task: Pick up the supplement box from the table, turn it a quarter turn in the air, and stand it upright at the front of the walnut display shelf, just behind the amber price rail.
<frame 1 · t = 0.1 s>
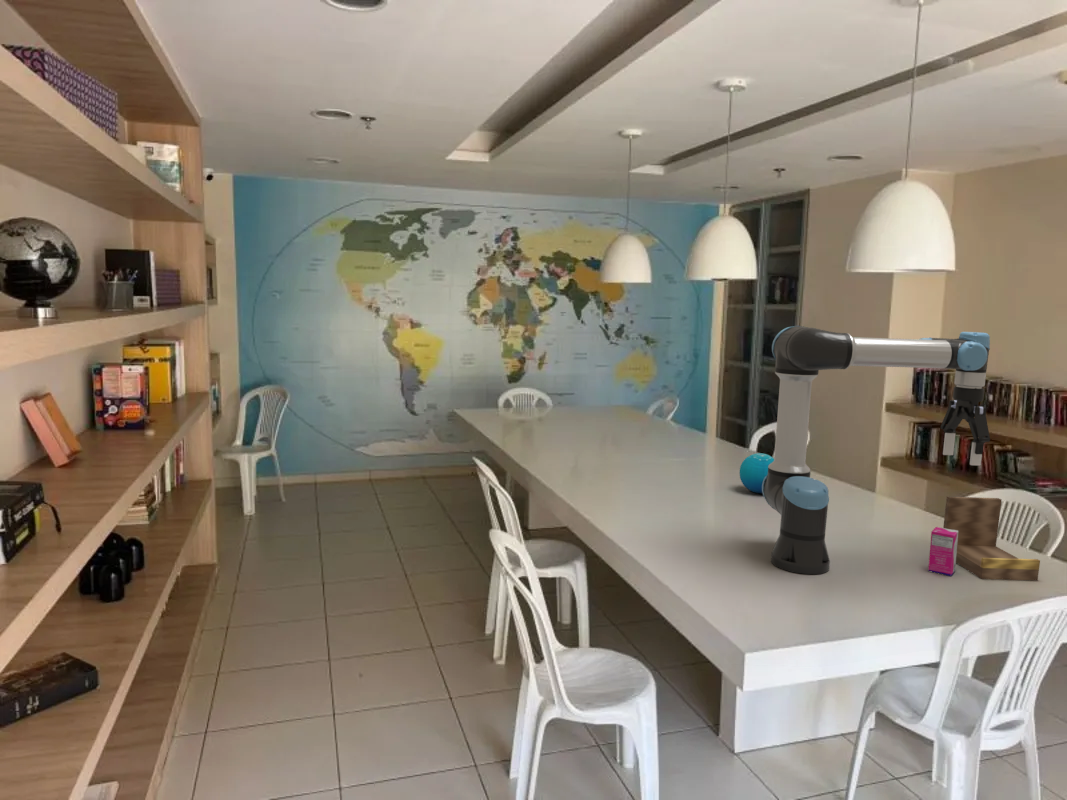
hand: (961, 459, 214), 28 cm above the table, tool pointing down, fingers open, 13 cm apart
decorative orb: (758, 493, 281), on the table
supplement box: (941, 571, 202), on the table
display shelf: (986, 566, 207), on the table
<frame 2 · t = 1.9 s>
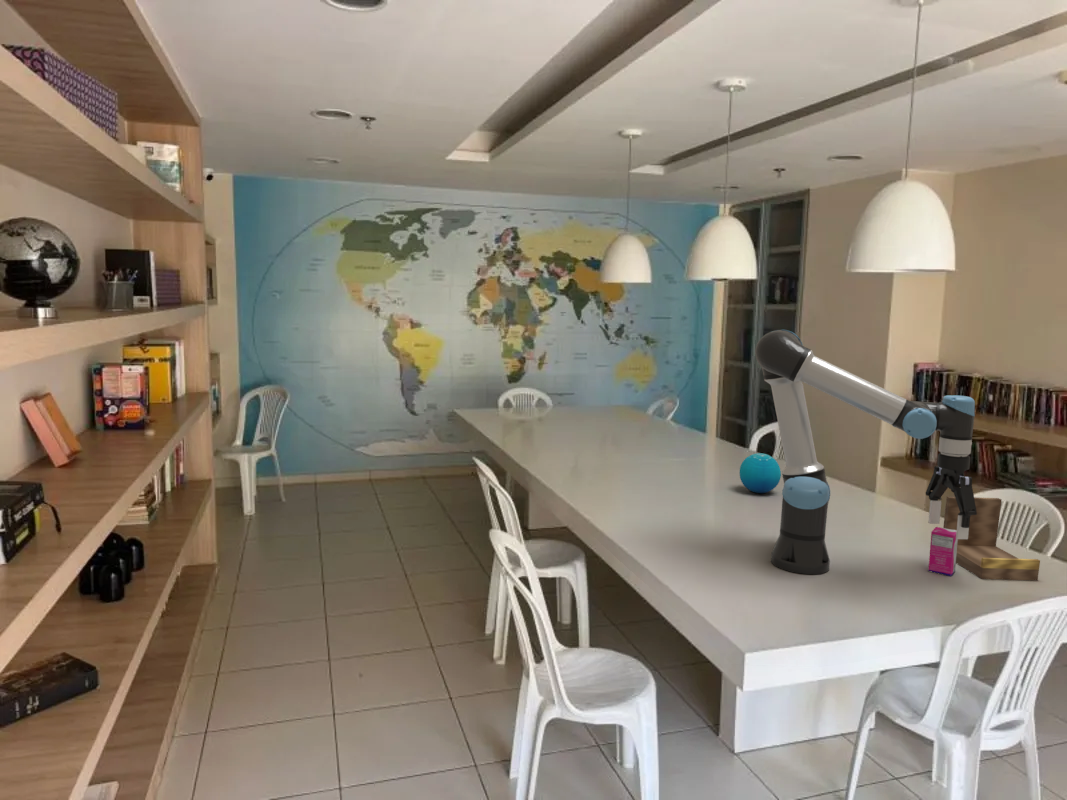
hand: (947, 531, 201), 11 cm above the table, tool pointing down, fingers open, 13 cm apart
nothing on the table moved.
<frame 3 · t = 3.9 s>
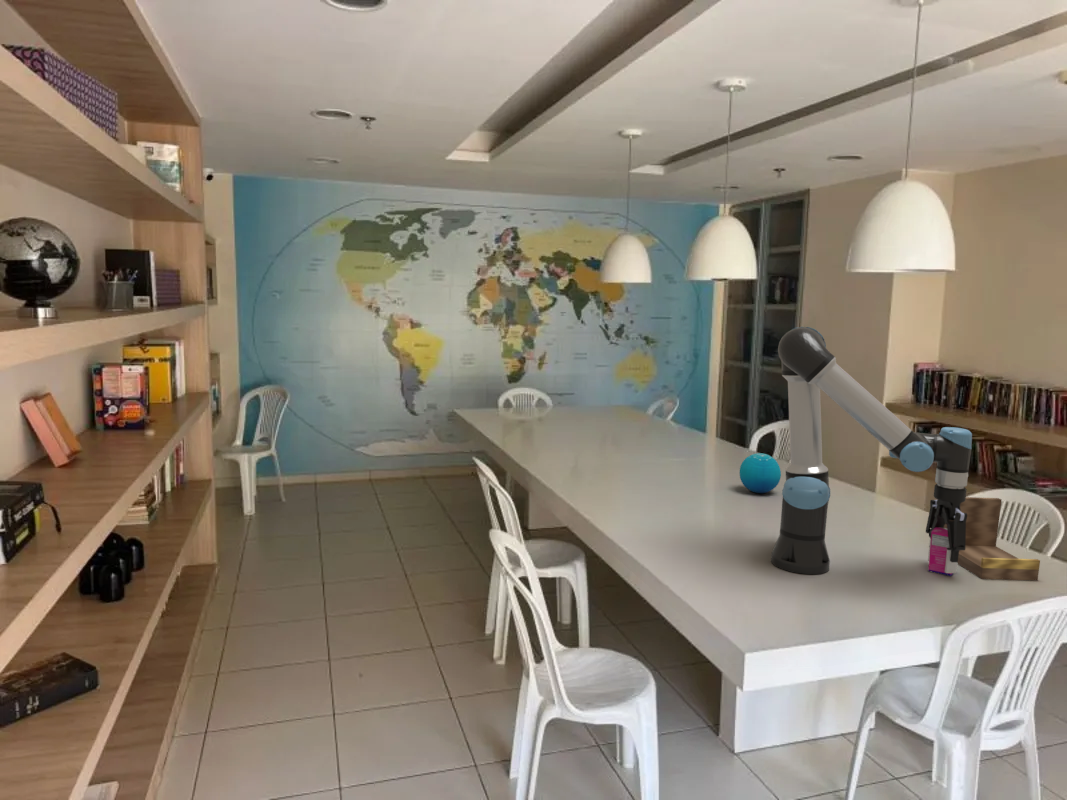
hand: (941, 566, 202), 1 cm above the table, tool pointing down, fingers closed on supplement box, 8 cm apart
supplement box: (941, 571, 202), on the table, touching gripper
everything else where it was.
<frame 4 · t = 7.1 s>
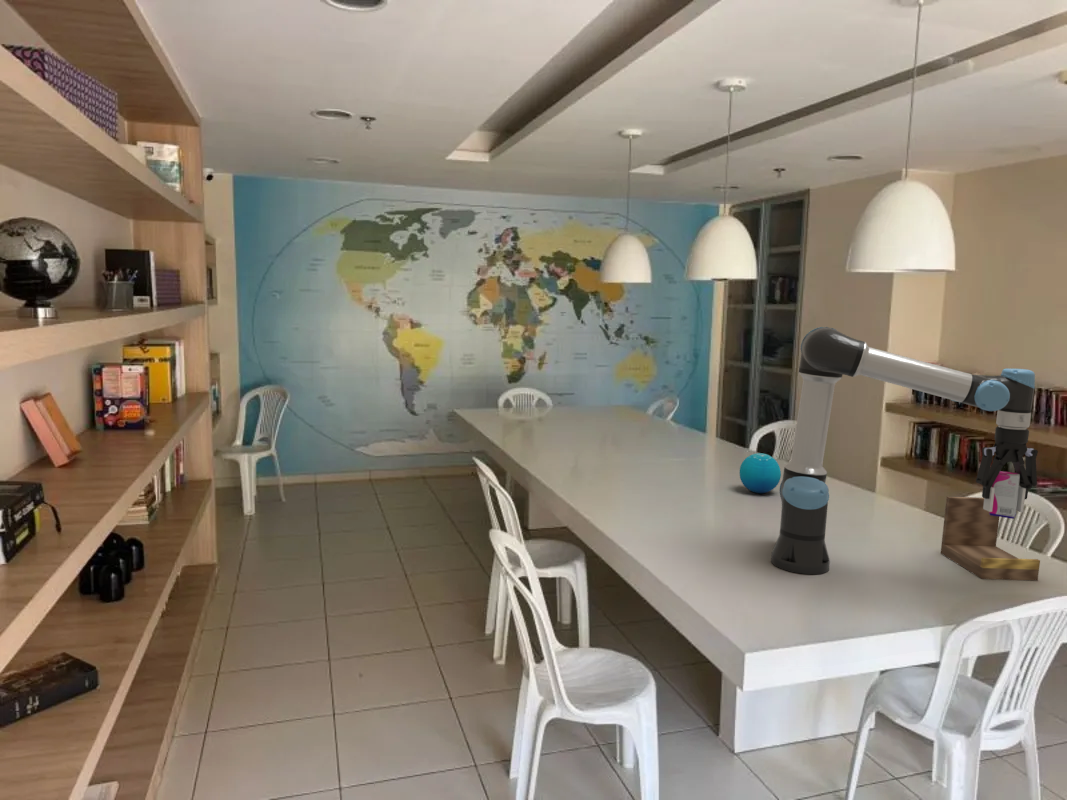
hand: (1002, 510, 200), 18 cm above the table, tool pointing down, fingers closed on supplement box, 8 cm apart
supplement box: (1002, 515, 200), point 16 cm above the table, touching gripper
everything else where it was.
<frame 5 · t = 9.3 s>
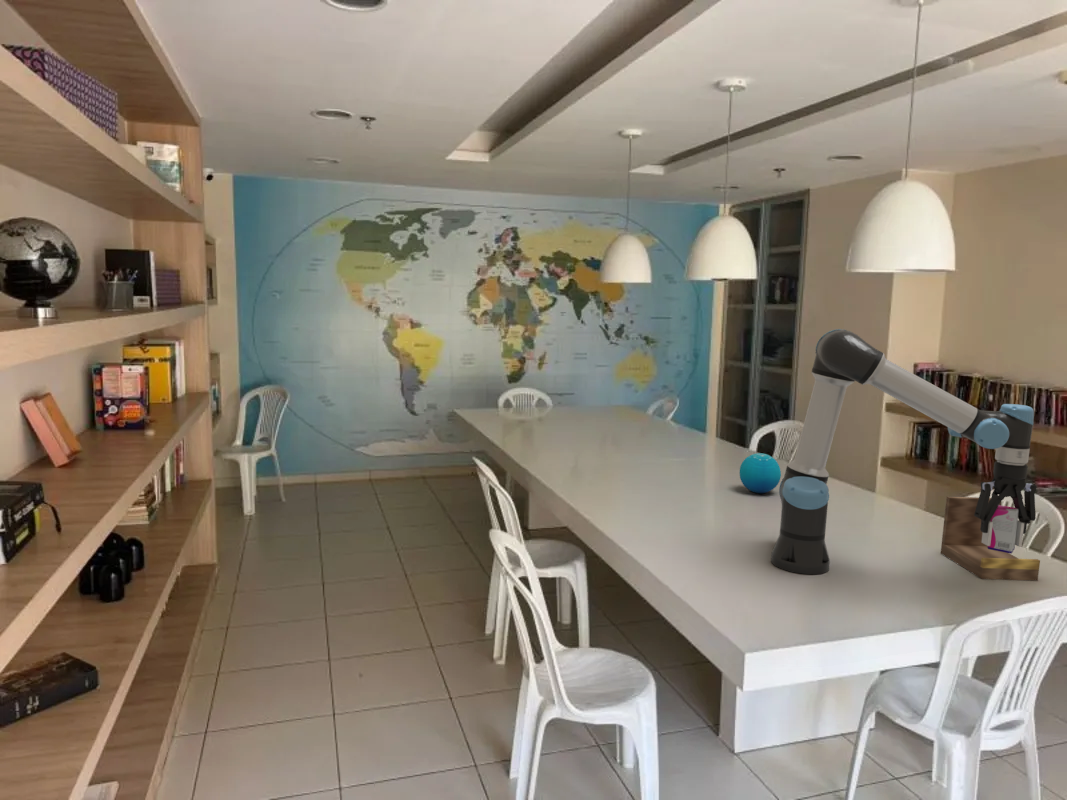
hand: (1001, 544, 201), 8 cm above the table, tool pointing down, fingers closed on supplement box, 8 cm apart
supplement box: (1000, 549, 202), point 7 cm above the table, touching gripper
everything else where it was.
when the fingers open (7 cm above the table, at t = 10.8 s): supplement box drops 2 cm, resting on display shelf.
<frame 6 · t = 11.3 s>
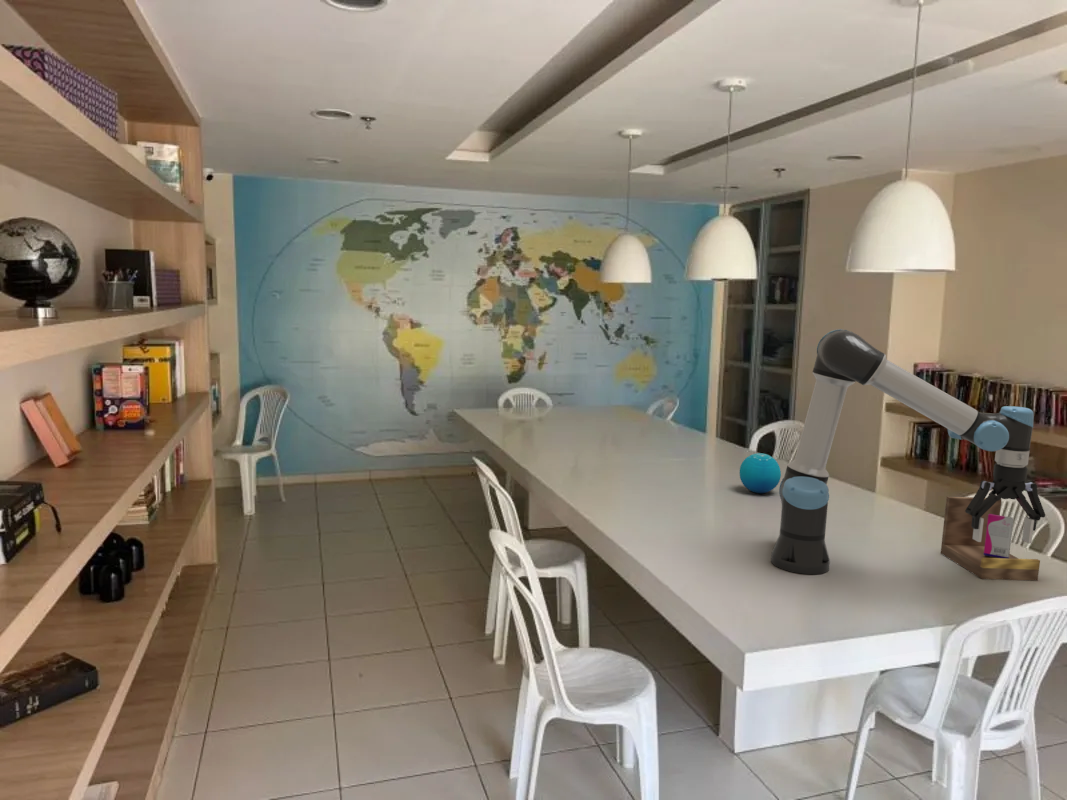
hand: (1001, 541, 201), 9 cm above the table, tool pointing down, fingers open, 13 cm apart
supplement box: (995, 558, 204), point 4 cm above the table, touching display shelf
everything else where it was.
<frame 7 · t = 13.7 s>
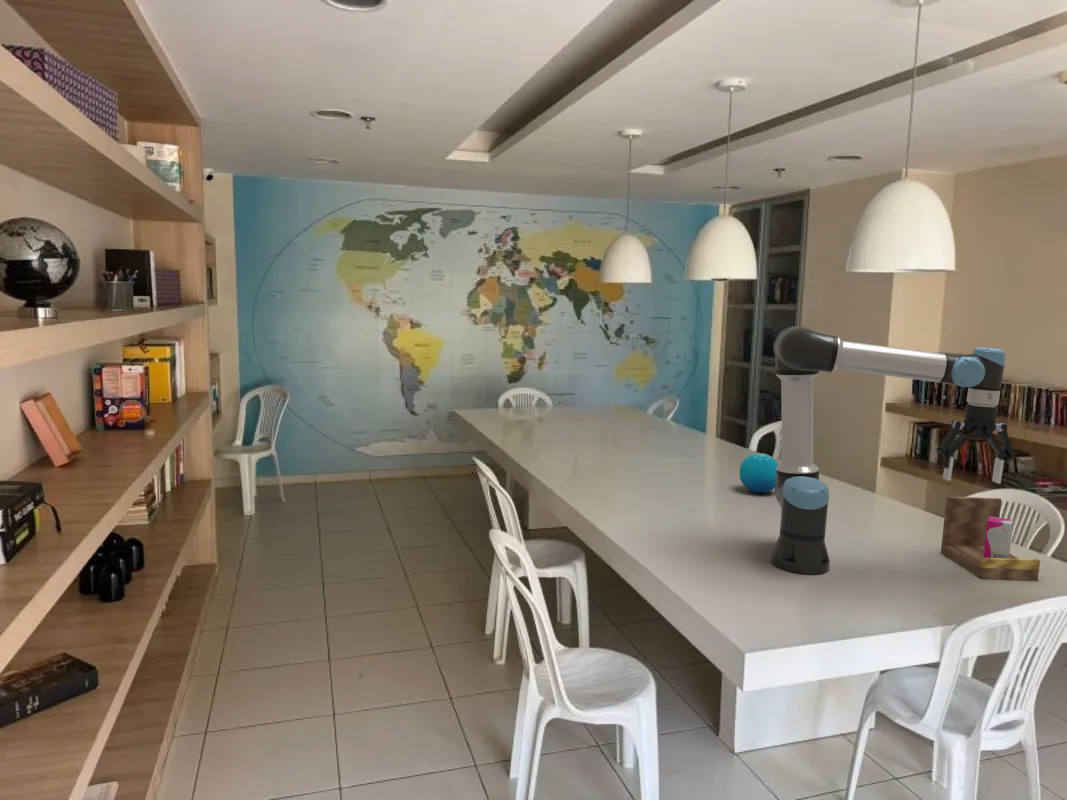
hand: (971, 481, 205), 24 cm above the table, tool pointing down, fingers open, 13 cm apart
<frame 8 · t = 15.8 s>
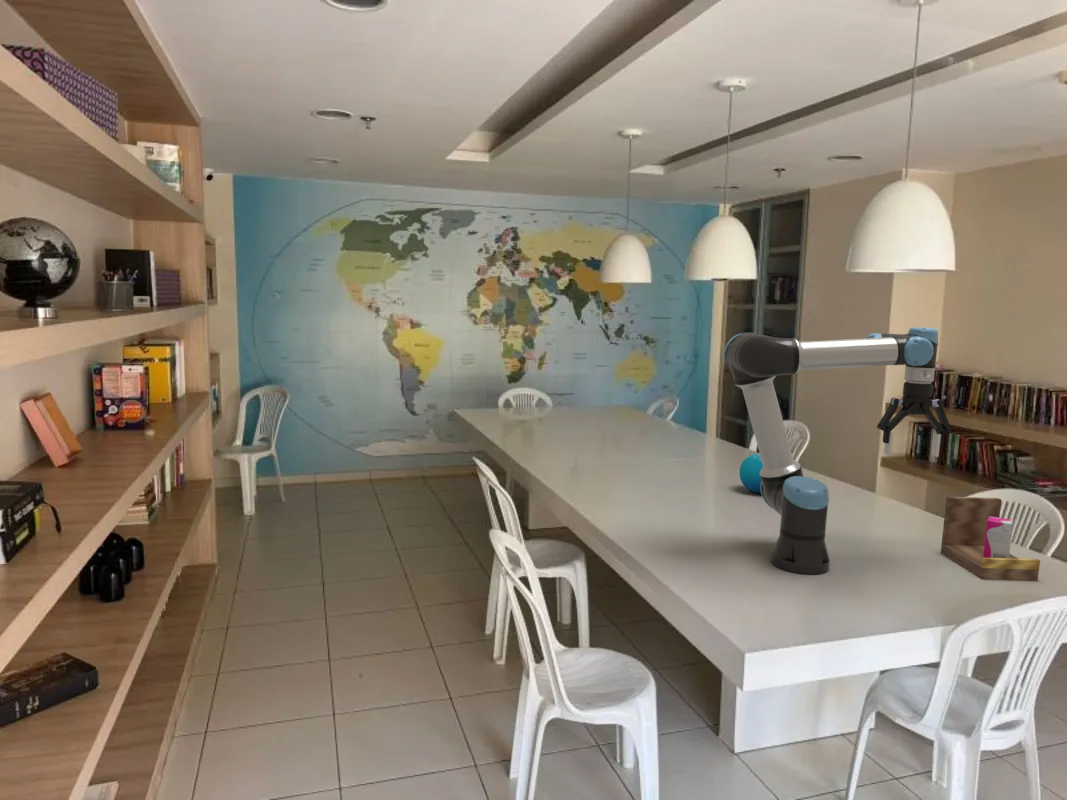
hand: (911, 455, 214), 29 cm above the table, tool pointing down, fingers open, 13 cm apart
at the end: supplement box inside the target area (1.5 cm from its centre), point 2.8 cm above the table; supplement box tilted 0°; the gripper is holding nothing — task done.
